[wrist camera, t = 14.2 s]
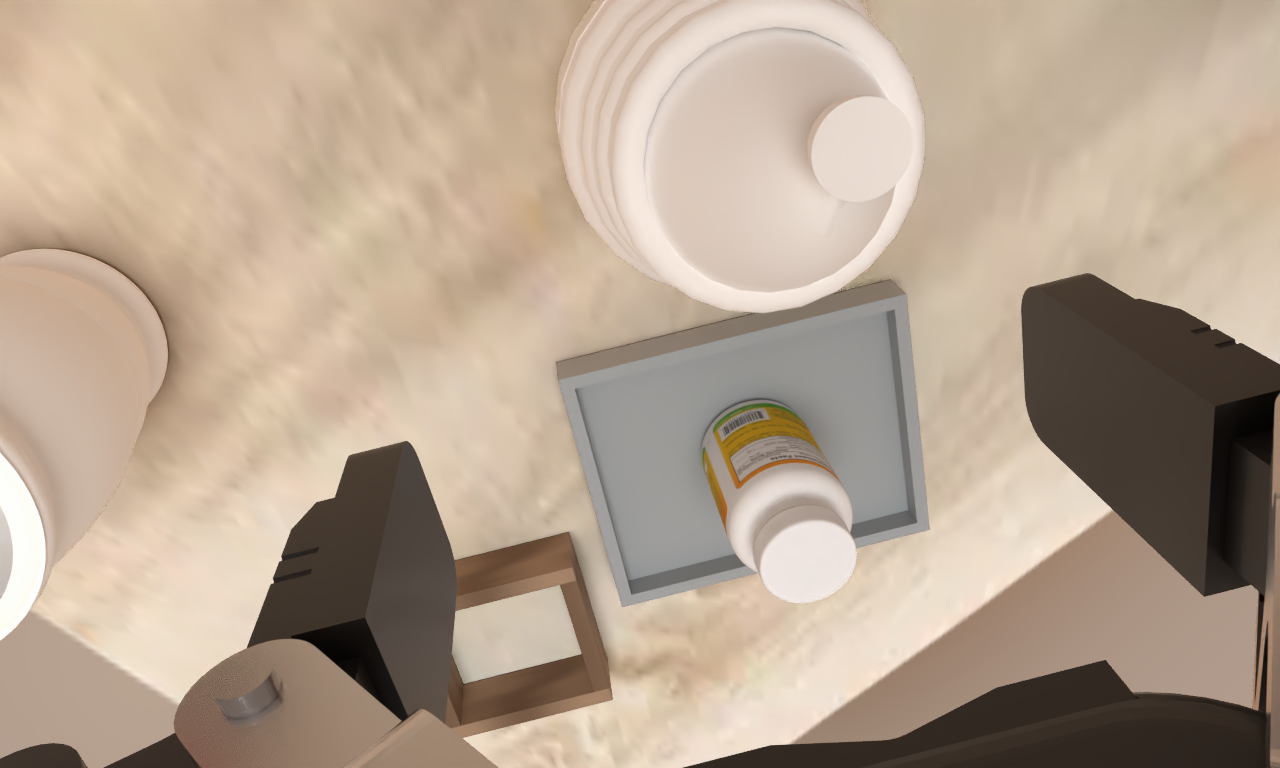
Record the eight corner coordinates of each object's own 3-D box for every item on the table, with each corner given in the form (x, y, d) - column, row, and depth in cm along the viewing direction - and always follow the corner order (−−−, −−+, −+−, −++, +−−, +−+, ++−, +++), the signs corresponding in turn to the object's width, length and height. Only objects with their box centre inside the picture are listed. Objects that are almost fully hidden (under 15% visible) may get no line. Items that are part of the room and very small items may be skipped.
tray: (890, 279, 45) (906, 293, 43) (914, 508, 50) (929, 529, 49) (556, 362, 44) (558, 380, 43) (618, 583, 50) (622, 607, 48)
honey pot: (594, -98, 37) (658, -125, 21) (899, -9, 39) (1168, 29, 23) (526, 223, 42) (533, 405, 25) (801, 283, 44) (966, 482, 28)
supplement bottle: (776, 507, 48) (835, 633, 40) (681, 475, 47) (719, 598, 38) (827, 417, 46) (900, 528, 38) (729, 381, 45) (781, 488, 36)
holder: (569, 532, 48) (572, 567, 46) (607, 660, 52) (612, 699, 49) (403, 573, 48) (396, 611, 46) (453, 699, 52) (450, 740, 49)
